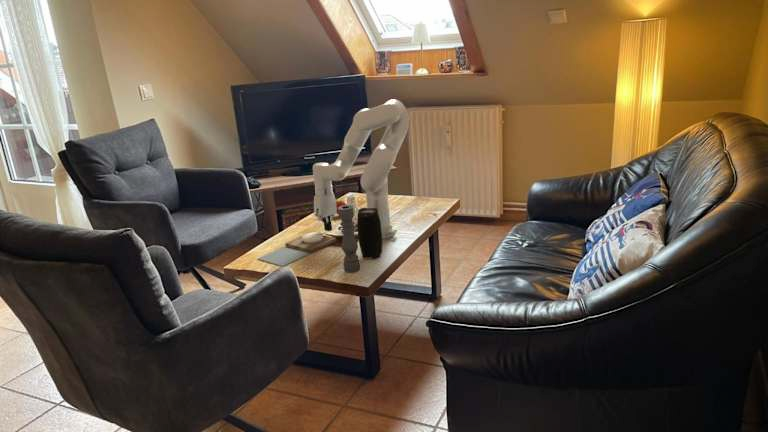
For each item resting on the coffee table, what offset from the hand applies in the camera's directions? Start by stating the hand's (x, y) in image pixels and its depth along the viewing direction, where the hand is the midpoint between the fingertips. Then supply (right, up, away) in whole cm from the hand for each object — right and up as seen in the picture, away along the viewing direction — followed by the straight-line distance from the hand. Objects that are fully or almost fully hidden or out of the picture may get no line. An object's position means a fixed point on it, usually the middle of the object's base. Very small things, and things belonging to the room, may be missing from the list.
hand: (328, 230), depth 249 cm
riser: (-7, -6, -7) cm, 12 cm away
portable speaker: (+20, -10, -26) cm, 34 cm away
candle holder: (+13, -14, -37) cm, 42 cm away
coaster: (-6, -4, -7) cm, 10 cm away
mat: (-17, -11, -19) cm, 27 cm away
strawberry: (+3, +6, +28) cm, 29 cm away
